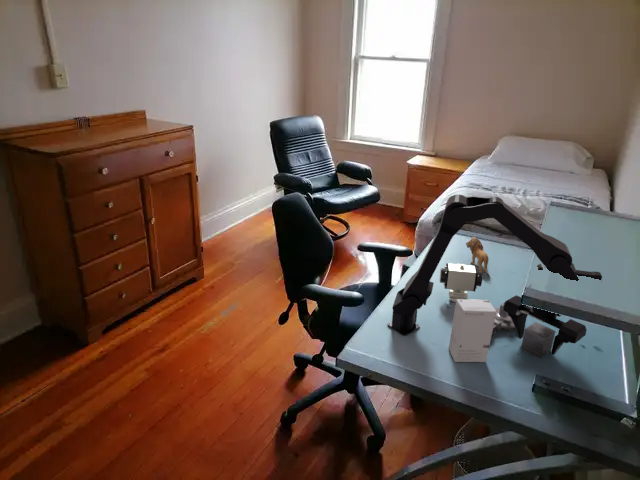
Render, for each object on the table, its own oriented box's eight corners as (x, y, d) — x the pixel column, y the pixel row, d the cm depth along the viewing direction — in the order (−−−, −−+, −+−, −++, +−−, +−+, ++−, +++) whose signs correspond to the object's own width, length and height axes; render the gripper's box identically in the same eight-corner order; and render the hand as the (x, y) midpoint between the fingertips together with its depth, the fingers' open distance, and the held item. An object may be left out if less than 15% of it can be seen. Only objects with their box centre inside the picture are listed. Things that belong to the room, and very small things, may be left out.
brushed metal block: (540, 359, 117) (544, 338, 114) (520, 348, 120) (525, 328, 118) (550, 351, 120) (555, 331, 117) (531, 341, 123) (535, 321, 121)
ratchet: (482, 350, 120) (486, 331, 117) (458, 336, 125) (460, 317, 123) (522, 324, 130) (526, 306, 128) (498, 313, 136) (501, 295, 133)
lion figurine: (461, 259, 169) (465, 236, 165) (475, 257, 169) (479, 235, 166) (481, 278, 155) (485, 253, 152) (496, 276, 156) (500, 252, 153)
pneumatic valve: (478, 305, 139) (483, 270, 135) (437, 301, 141) (442, 266, 137) (476, 296, 144) (481, 261, 139) (437, 292, 146) (441, 258, 142)
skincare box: (454, 363, 115) (461, 311, 109) (447, 347, 121) (454, 298, 115) (488, 362, 115) (497, 311, 109) (480, 347, 121) (488, 297, 115)
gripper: (604, 298, 111) (588, 351, 117) (530, 269, 124) (519, 319, 131) (582, 313, 105) (567, 369, 111) (506, 281, 118) (497, 333, 124)
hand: (536, 346), depth 119 cm, fingers open, 8 cm apart
